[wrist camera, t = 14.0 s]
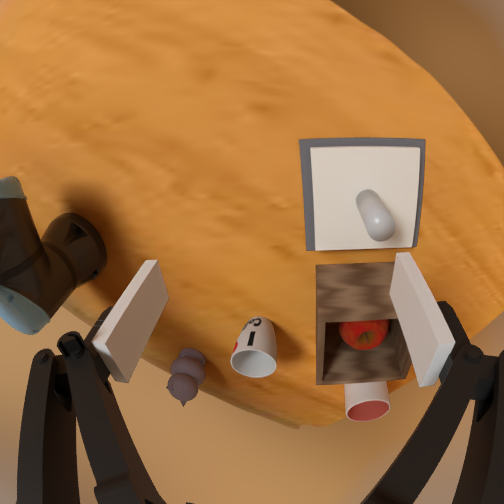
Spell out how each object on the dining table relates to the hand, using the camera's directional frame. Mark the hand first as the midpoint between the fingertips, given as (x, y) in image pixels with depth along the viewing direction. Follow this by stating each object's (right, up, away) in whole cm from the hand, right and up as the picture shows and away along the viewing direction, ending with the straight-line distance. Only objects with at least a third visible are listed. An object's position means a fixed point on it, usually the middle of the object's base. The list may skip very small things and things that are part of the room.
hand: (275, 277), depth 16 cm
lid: (+16, +10, +27) cm, 33 cm away
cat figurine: (-15, -23, +53) cm, 59 cm away
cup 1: (0, -13, +44) cm, 46 cm away
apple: (+18, -7, +38) cm, 43 cm away
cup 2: (+25, -28, +49) cm, 62 cm away
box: (+18, -7, +38) cm, 42 cm away
